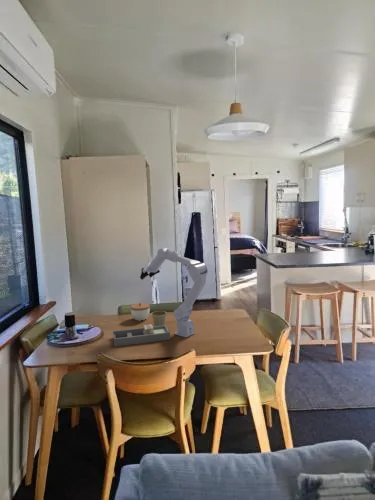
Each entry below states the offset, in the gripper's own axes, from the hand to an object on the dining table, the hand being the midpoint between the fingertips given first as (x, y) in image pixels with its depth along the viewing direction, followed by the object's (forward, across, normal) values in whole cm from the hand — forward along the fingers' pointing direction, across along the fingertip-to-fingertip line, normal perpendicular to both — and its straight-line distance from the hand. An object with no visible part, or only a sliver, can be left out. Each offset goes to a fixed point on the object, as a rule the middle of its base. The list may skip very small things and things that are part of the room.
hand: (145, 277), depth 217 cm
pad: (+7, +10, +36) cm, 38 cm away
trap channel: (+12, +19, +31) cm, 38 cm away
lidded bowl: (+30, -6, +13) cm, 34 cm away
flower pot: (+16, -2, +28) cm, 32 cm away
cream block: (+9, +16, +31) cm, 36 cm away
